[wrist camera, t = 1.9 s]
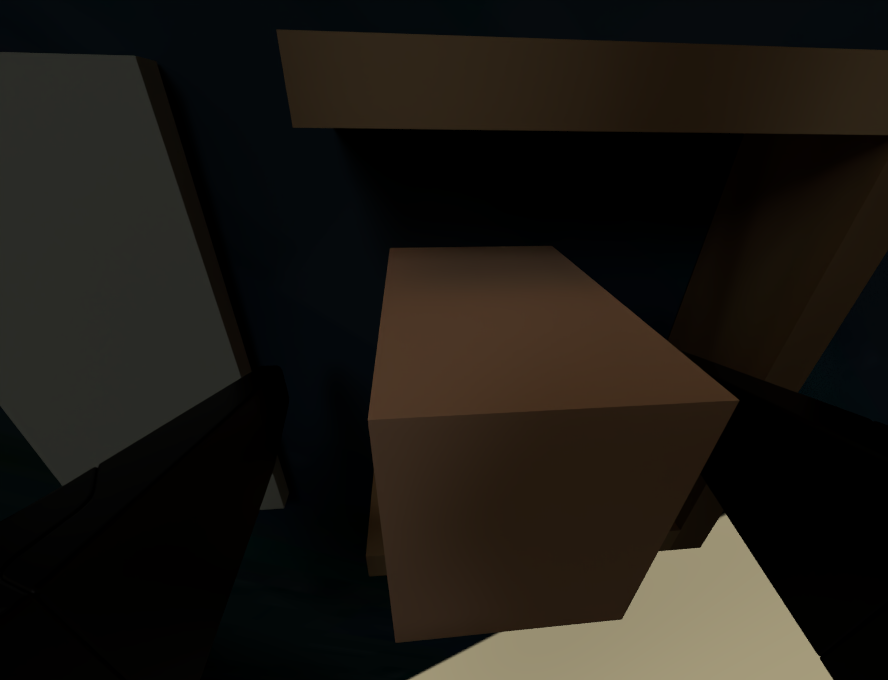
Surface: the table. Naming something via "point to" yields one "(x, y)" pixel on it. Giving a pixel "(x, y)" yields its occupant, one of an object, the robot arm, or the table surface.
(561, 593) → the terracotta block
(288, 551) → the table surface
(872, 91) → the u-shaped block
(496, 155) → the table surface
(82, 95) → the grey mat
